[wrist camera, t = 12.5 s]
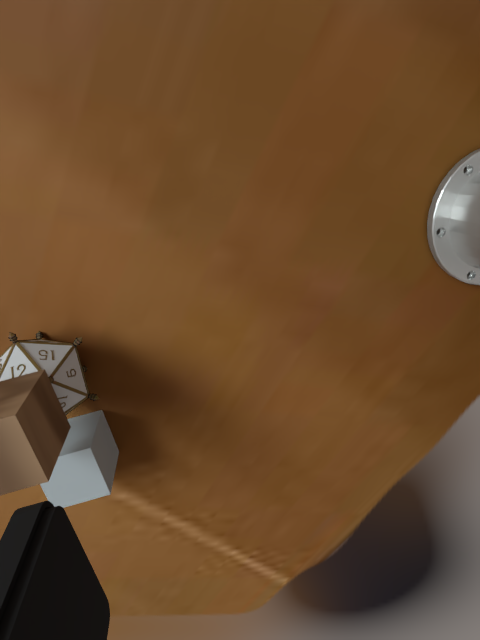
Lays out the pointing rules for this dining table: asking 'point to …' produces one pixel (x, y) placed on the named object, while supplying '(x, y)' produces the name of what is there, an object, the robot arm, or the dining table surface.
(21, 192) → the dining table surface
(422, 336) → the dining table surface
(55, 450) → the walnut block
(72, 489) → the grey block
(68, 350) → the game die
